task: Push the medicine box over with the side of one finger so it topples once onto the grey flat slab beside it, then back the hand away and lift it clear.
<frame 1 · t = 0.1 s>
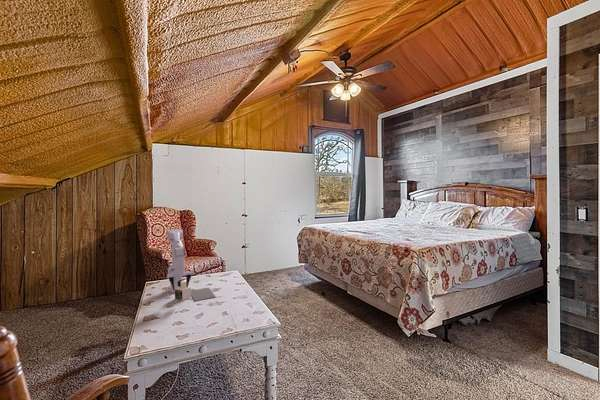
hand: (180, 288, 172), 10 cm above the table, tool pointing down, fingers open, 7 cm apart
grey flat slab: (202, 294, 188), on the table
medicine box: (183, 298, 182), on the table
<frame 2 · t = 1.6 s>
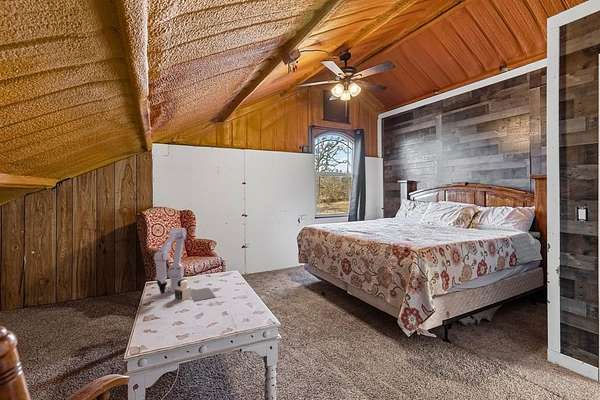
hand: (162, 291, 179), 6 cm above the table, tool pointing down, fingers open, 7 cm apart
nothing on the table moved.
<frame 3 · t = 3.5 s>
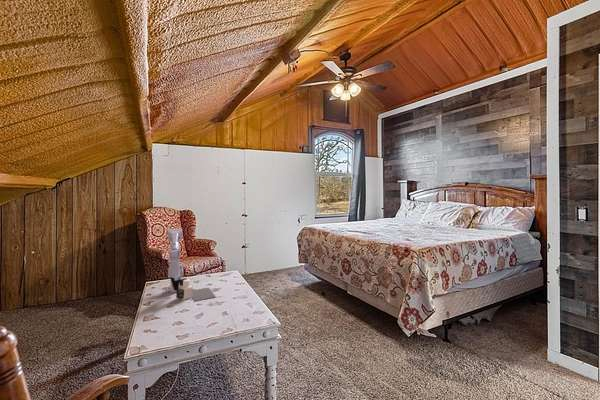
hand: (175, 288, 182), 6 cm above the table, tool pointing down, fingers open, 6 cm apart
medicine box: (184, 297, 182), on the table, touching gripper, grey flat slab
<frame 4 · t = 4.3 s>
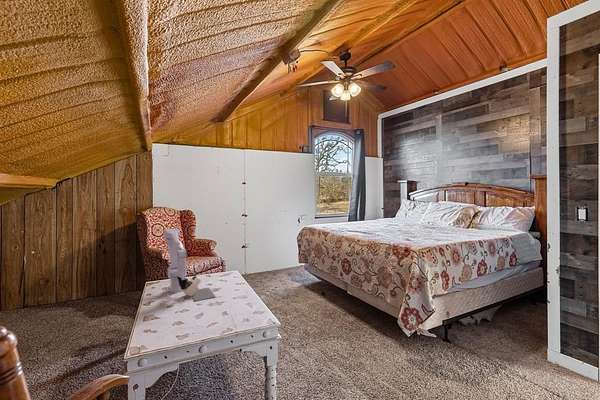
hand: (182, 287, 185), 6 cm above the table, tool pointing down, fingers open, 7 cm apart
medicine box: (185, 293, 184), point 3 cm above the table, touching gripper
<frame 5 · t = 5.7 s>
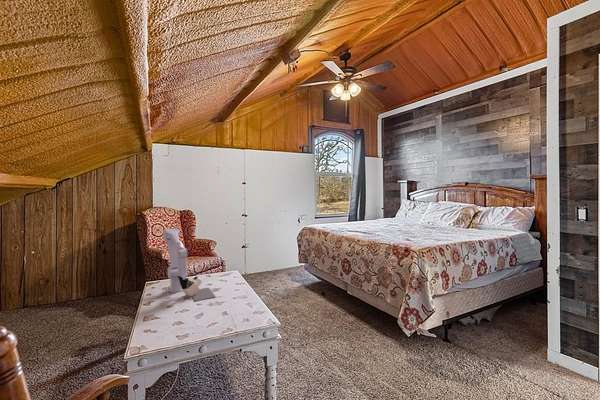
hand: (183, 287, 185), 6 cm above the table, tool pointing down, fingers open, 7 cm apart
medicine box: (185, 292, 184), point 3 cm above the table, touching gripper, grey flat slab
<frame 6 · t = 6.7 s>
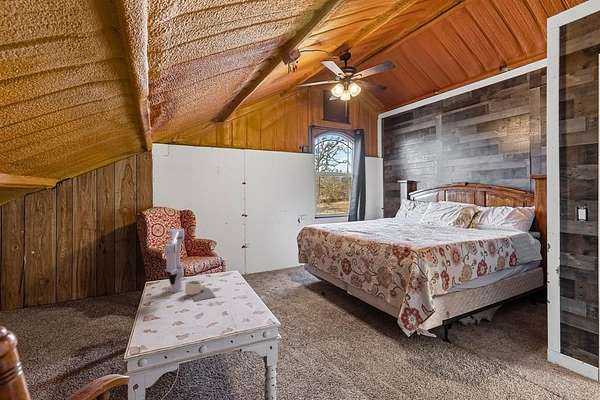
hand: (171, 282, 182), 10 cm above the table, tool pointing down, fingers open, 7 cm apart
medicine box: (188, 288, 186), point 5 cm above the table, touching grey flat slab
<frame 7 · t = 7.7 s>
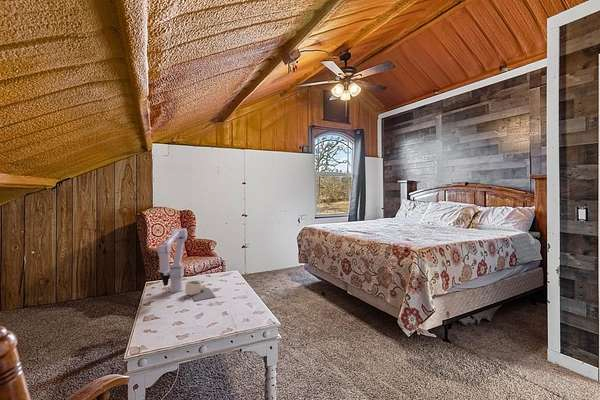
hand: (165, 283, 180), 10 cm above the table, tool pointing down, fingers open, 7 cm apart
nothing on the table moved.
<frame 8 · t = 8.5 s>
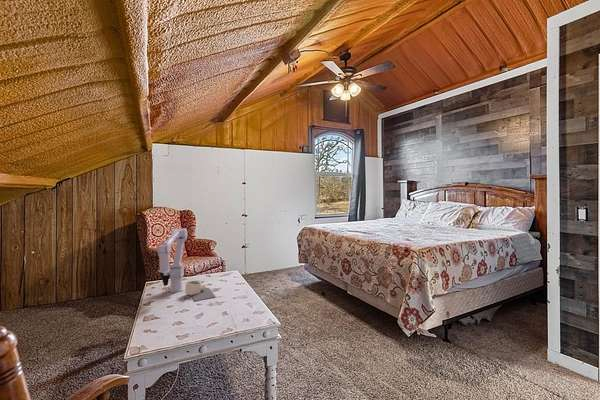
hand: (165, 283, 180), 10 cm above the table, tool pointing down, fingers open, 7 cm apart
nothing on the table moved.
at the end: medicine box tilted 97°; medicine box touching grey flat slab; medicine box inside the target area (4.2 cm from its centre), point 4.9 cm above the table; the gripper is holding nothing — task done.
